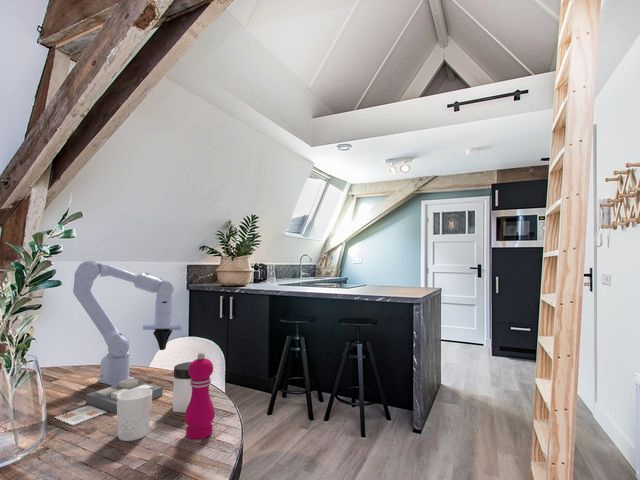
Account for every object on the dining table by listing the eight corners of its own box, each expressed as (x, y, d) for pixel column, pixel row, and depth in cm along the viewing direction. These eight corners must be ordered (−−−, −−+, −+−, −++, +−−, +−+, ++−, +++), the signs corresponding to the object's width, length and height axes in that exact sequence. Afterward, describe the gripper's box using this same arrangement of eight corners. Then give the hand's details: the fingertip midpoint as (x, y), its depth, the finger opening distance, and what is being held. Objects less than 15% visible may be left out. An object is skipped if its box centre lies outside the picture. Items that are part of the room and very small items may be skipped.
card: (53, 418, 97) (54, 417, 98) (88, 406, 105) (88, 405, 105) (72, 425, 93) (72, 424, 93) (106, 412, 101) (107, 411, 101)
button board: (85, 403, 108) (86, 394, 108) (131, 387, 121) (132, 379, 121) (117, 413, 101) (117, 404, 101) (162, 395, 114) (162, 387, 114)
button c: (111, 398, 106) (111, 392, 106) (123, 393, 109) (124, 388, 109) (119, 400, 104) (119, 395, 104) (132, 396, 107) (132, 390, 107)
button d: (132, 393, 112) (133, 388, 112) (144, 389, 115) (144, 384, 115) (141, 396, 110) (141, 390, 110) (152, 391, 113) (152, 386, 113)
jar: (174, 402, 109) (175, 362, 109) (202, 399, 111) (203, 360, 112) (171, 415, 100) (172, 371, 101) (201, 411, 102) (202, 369, 103)
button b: (118, 386, 115) (119, 381, 115) (130, 382, 118) (130, 377, 119) (126, 388, 113) (126, 383, 113) (138, 385, 117) (138, 379, 117)
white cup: (141, 443, 85) (142, 400, 86) (108, 442, 85) (109, 399, 86) (156, 427, 93) (158, 388, 93) (126, 426, 93) (128, 387, 94)
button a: (96, 397, 109) (96, 391, 109) (109, 392, 112) (109, 387, 112) (104, 399, 107) (104, 394, 107) (117, 395, 110) (117, 389, 110)
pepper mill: (205, 442, 86) (207, 357, 86) (177, 439, 87) (180, 355, 88) (219, 428, 93) (221, 349, 94) (194, 425, 94) (195, 348, 95)
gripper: (138, 314, 131) (137, 351, 131) (178, 314, 131) (177, 352, 130) (148, 311, 138) (147, 347, 138) (185, 311, 138) (184, 347, 137)
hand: (162, 349), depth 134 cm, fingers closed
